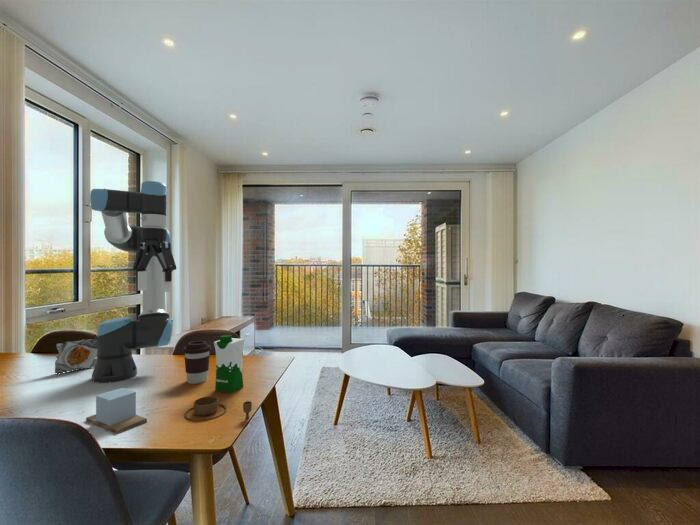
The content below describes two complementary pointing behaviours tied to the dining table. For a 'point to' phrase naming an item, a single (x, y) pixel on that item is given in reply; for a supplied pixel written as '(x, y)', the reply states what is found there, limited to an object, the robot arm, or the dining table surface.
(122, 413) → the cube
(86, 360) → the meal
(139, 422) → the board
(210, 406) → the place setting
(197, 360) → the coffee cup
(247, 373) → the dining table surface
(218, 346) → the milk carton
